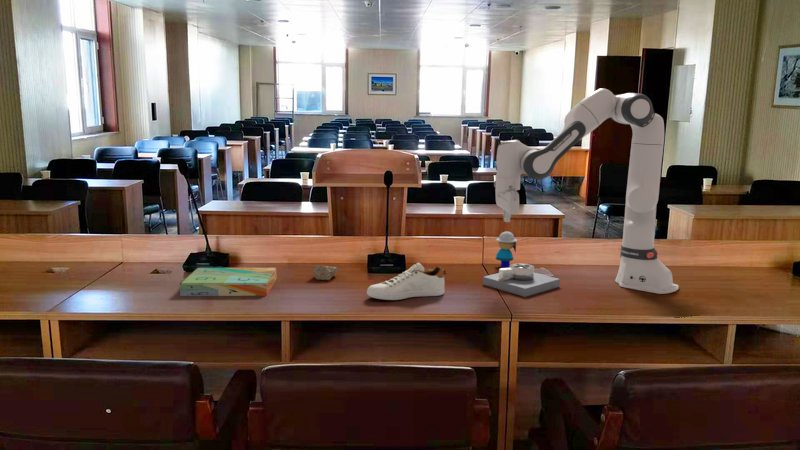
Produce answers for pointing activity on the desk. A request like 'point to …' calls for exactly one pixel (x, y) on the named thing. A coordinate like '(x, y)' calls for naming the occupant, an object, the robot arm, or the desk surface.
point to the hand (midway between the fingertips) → (506, 221)
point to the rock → (324, 272)
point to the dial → (517, 272)
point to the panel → (522, 284)
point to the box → (228, 282)
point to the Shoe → (410, 284)
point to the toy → (506, 248)
